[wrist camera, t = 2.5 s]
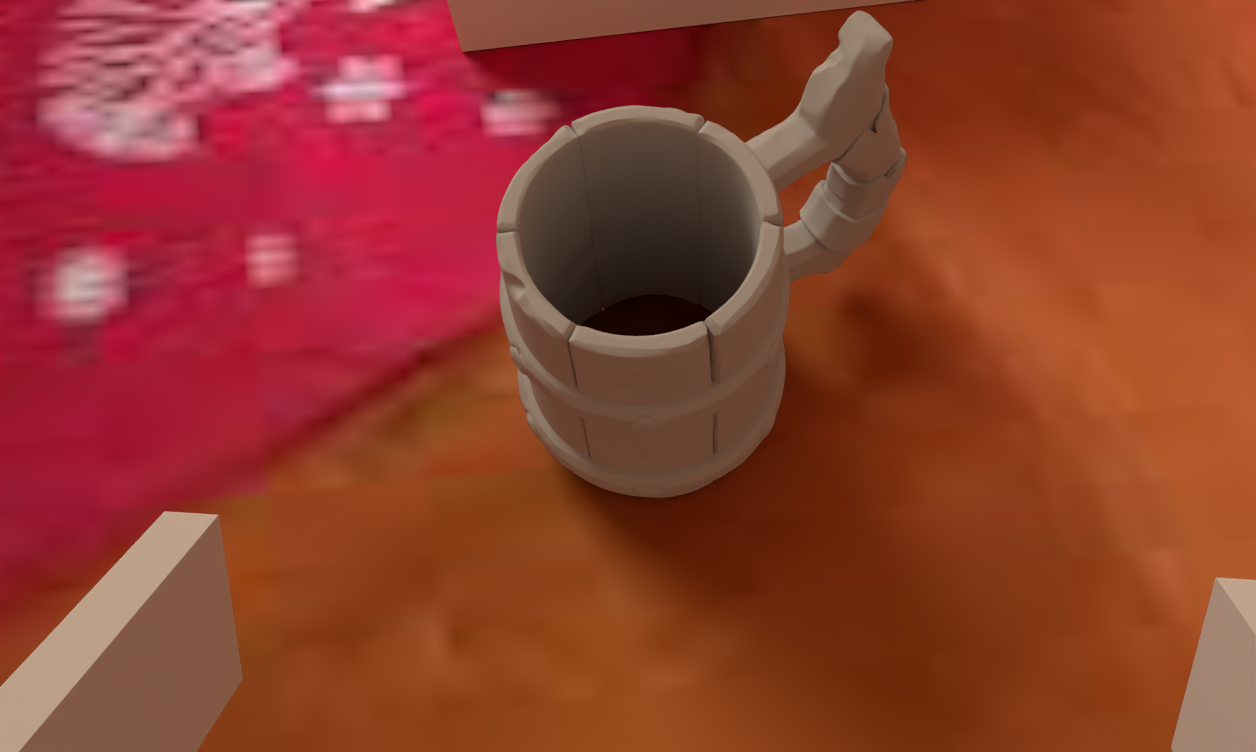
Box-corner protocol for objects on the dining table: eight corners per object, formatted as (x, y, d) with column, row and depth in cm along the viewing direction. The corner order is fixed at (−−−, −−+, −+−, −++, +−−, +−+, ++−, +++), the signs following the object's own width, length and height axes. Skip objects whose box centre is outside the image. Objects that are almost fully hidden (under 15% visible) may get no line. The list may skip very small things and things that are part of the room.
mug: (477, 358, 34) (375, 136, 23) (789, 163, 36) (833, -128, 25) (616, 562, 32) (576, 422, 21) (943, 340, 34) (1067, 104, 23)
